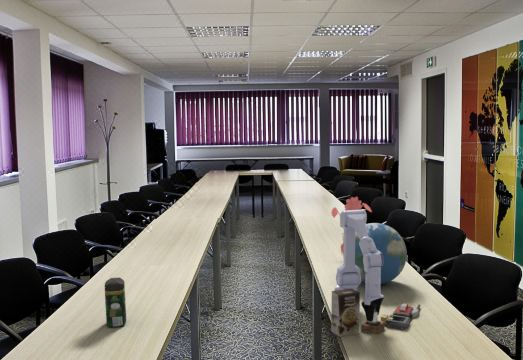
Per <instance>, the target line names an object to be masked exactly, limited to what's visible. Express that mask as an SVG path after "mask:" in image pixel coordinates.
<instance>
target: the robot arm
mask: <svg viewBox="0 0 523 360" xmlns="http://www.w3.org/2000/svg"><path fill="white" fill-rule="evenodd" d="M367 215H368V214H367V212H366V209H362V208H361V210H360V209H359V210H346V211H345V209H343V210H342V211H341V212H340V215H339V226H340V228H343V233H344V234H343V238H344V254H343V264H341V265H339V266H338V267H337V268H336V274H335V282H336V285H335V287H334V290H333V291H336V290H343V289H350V288H351V289H353V290H356V291H358V288H359V286H360V285H361V283H362V281H361V274H360V269H359V268H358V267H357V266H356V265H355V231H356V233H357V235H358V237H359V239H360V241H359V246H360V248H361V251H362V253H363V264H364V271H365V282H364V283H365V286H364V287H365V290H364V292H365V293H364V301H362V302H361V303H360V306H361V307H362V309H363V310H364V313H365V318H366V319H367V321H373V317H374V311H377V316H379V314H380V310H381V306H382V302H383V300H384V299H385V297H384V294H382V292H381V291H382V290H381V289H382V287H381V285H382V284H381V267H382V266H383V255H382V253H381V252H380V251H379V250H377V249H376V246H375V244H374V241H373V239H372V238H371V237H369V236H368V232H367V229H366V226H365V225H366V224H367V221H368V220H367V219H368V218H367V217H368V216H367ZM366 319H365V320H366Z"/></svg>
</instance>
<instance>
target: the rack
mask: <svg viewBox="0 0 523 360" xmlns="http://www.w3.org/2000/svg"><path fill="white" fill-rule="evenodd" d="M360 324H361V325H360V331H361V332H366V333H370V334H378V335H380V334H381V332H382V331H383V330H384V329H385V324H384V322H383V321H381V320H377V326H372V325H368V321H367V319H365V320H364V321H363V322H362V323H360Z"/></svg>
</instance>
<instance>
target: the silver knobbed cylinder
mask: <svg viewBox="0 0 523 360" xmlns="http://www.w3.org/2000/svg"><path fill="white" fill-rule="evenodd" d="M377 321H378V315H377V311H374V317H373V321H368V325H372V326H377Z"/></svg>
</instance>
